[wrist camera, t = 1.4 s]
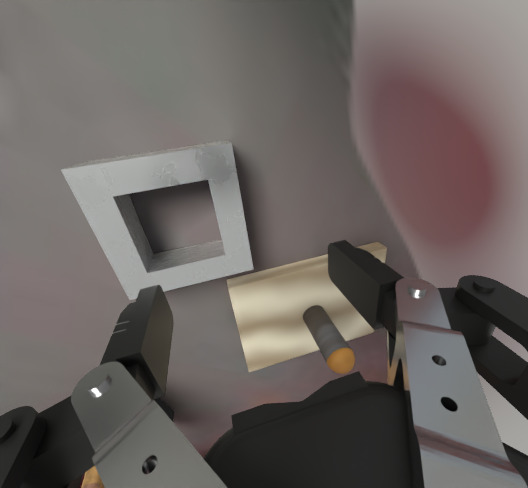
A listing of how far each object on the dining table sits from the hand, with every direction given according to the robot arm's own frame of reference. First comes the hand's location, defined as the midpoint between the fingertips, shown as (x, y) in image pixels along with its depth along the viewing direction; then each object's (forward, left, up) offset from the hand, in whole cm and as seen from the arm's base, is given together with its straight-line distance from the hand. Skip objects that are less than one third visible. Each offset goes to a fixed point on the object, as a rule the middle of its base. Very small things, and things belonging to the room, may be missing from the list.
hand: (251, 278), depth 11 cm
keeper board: (+14, +7, -11) cm, 19 cm away
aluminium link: (0, -4, -11) cm, 11 cm away
